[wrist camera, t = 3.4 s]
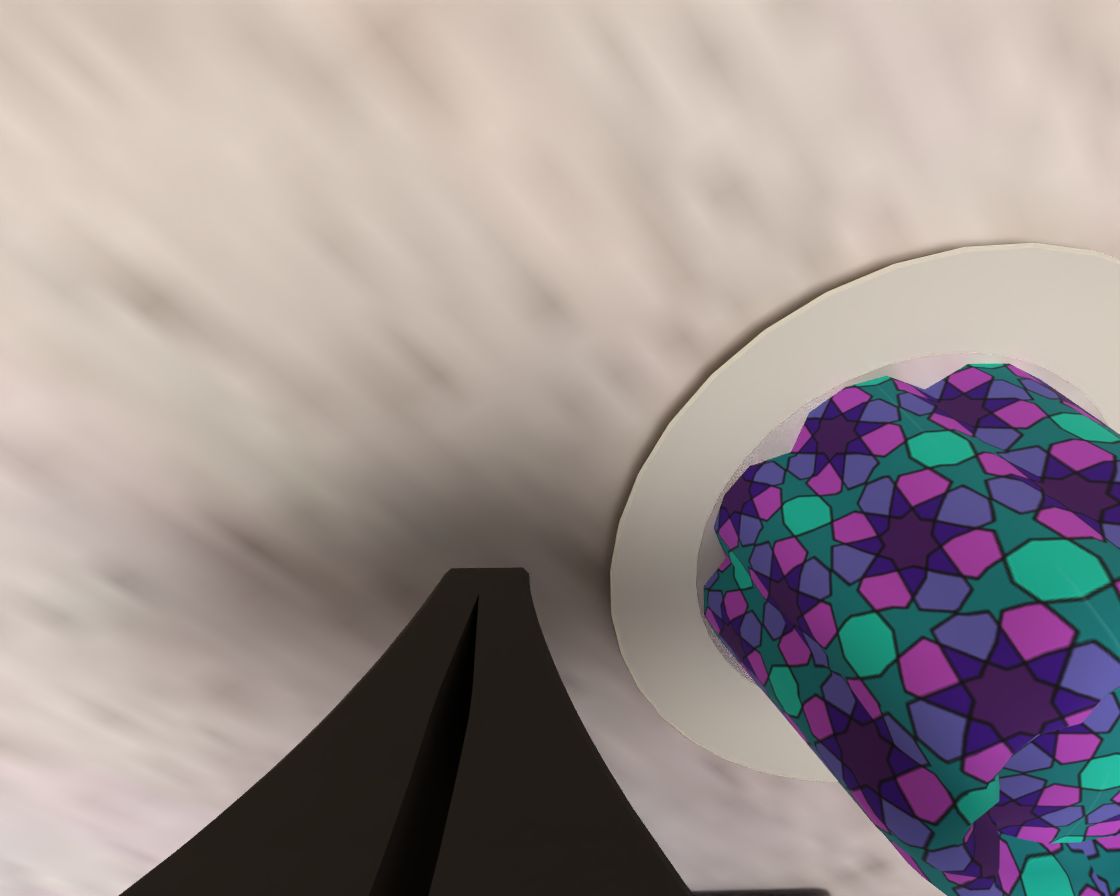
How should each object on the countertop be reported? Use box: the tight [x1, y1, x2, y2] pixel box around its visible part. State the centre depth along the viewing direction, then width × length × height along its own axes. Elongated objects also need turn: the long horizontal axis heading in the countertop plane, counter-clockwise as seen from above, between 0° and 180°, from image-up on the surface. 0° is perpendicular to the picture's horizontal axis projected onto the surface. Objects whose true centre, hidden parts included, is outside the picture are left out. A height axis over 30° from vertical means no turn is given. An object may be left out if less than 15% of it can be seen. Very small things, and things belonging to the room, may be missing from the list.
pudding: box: [610, 243, 1120, 896], centre depth 9 cm, size 12×12×5 cm
